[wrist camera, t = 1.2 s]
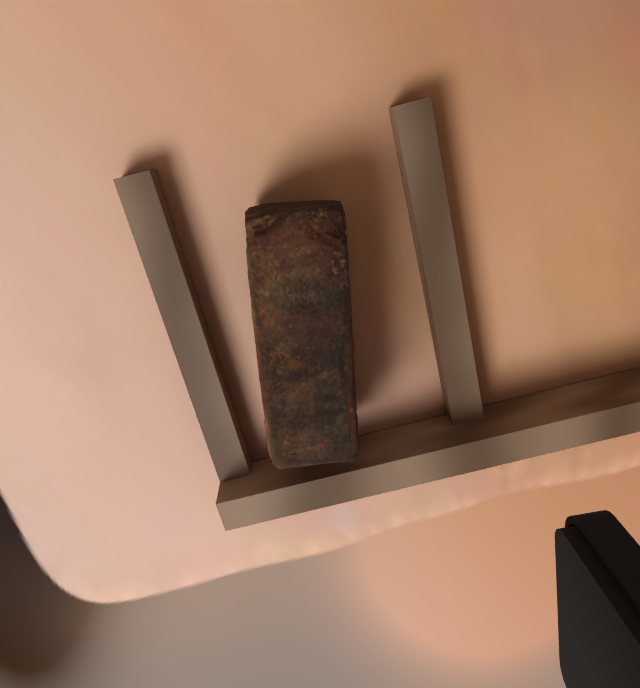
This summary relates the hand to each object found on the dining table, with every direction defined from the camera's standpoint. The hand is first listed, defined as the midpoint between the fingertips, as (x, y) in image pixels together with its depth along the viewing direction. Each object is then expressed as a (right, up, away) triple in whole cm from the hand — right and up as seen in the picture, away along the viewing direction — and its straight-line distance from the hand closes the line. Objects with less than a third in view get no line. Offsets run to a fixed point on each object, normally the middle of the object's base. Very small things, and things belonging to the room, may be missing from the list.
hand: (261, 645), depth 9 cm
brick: (0, +6, +19) cm, 19 cm away
